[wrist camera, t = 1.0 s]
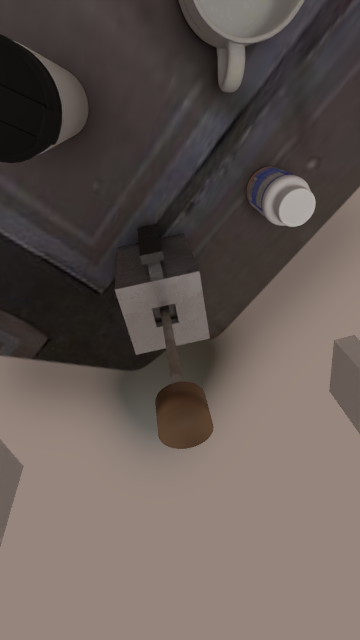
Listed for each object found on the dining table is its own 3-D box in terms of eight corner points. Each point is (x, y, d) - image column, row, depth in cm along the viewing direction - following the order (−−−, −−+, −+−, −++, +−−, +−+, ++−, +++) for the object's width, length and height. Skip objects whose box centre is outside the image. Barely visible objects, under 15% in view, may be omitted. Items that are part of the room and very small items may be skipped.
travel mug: (83, 149, 37) (46, 184, 20) (21, 121, 34) (-77, 136, 18) (99, 87, 34) (71, 69, 17) (32, 52, 32) (-73, -6, 15)
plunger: (142, 331, 40) (151, 466, 25) (129, 285, 36) (129, 411, 21) (194, 320, 40) (234, 448, 25) (186, 273, 36) (226, 390, 21)
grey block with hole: (134, 303, 48) (136, 354, 39) (112, 230, 42) (107, 269, 32) (193, 290, 49) (209, 338, 39) (180, 215, 42) (196, 249, 32)
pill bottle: (293, 190, 42) (332, 209, 34) (259, 218, 44) (289, 243, 36) (272, 155, 40) (308, 168, 32) (237, 186, 41) (263, 206, 33)
